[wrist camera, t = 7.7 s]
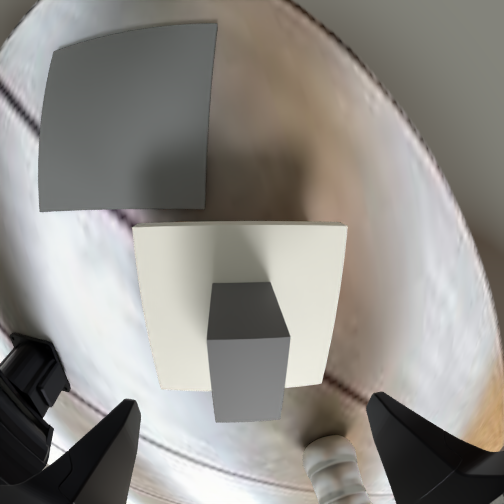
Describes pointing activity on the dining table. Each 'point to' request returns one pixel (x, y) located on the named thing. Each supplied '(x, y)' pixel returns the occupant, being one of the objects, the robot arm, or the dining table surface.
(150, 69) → the mat
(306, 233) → the lid
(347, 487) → the plastic bottle
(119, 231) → the dining table surface
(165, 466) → the dining table surface
